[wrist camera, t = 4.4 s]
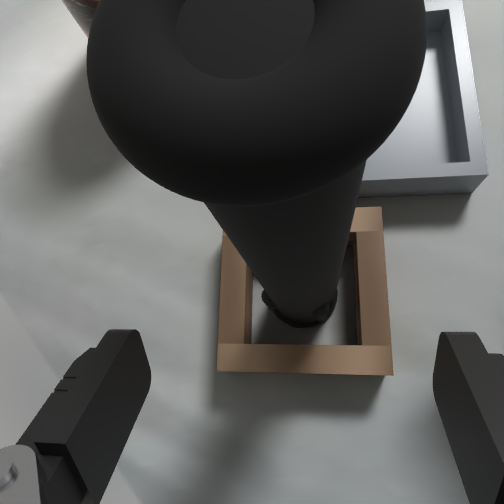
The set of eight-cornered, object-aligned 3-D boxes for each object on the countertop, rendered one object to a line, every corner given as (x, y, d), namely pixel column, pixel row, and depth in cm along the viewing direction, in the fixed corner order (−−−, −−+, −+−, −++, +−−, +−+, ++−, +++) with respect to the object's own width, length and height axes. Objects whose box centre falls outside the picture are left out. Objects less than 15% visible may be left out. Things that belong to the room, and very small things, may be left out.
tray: (449, 28, 34) (461, -4, 31) (472, 192, 30) (488, 174, 27) (271, 46, 36) (267, 19, 33) (269, 201, 32) (265, 185, 29)
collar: (375, 221, 30) (381, 206, 27) (385, 374, 27) (393, 375, 24) (232, 226, 32) (223, 212, 29) (226, 370, 29) (216, 371, 26)
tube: (112, 239, 5) (529, 62, 5) (32, -48, 7) (336, -188, 7) (282, 344, 29) (354, 315, 29) (254, 274, 31) (322, 246, 30)
